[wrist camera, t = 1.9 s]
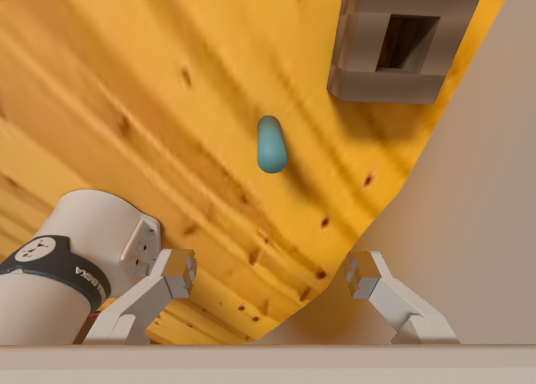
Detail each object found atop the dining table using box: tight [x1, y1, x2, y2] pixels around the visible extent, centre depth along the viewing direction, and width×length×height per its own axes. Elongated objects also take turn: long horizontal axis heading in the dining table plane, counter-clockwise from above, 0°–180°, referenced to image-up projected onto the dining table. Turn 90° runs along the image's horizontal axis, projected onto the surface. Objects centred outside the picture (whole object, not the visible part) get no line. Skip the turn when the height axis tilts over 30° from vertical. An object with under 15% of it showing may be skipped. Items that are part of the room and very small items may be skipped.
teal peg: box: [257, 116, 287, 174], centre depth 27 cm, size 3×3×10 cm
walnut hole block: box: [327, 0, 479, 104], centre depth 23 cm, size 10×10×6 cm
